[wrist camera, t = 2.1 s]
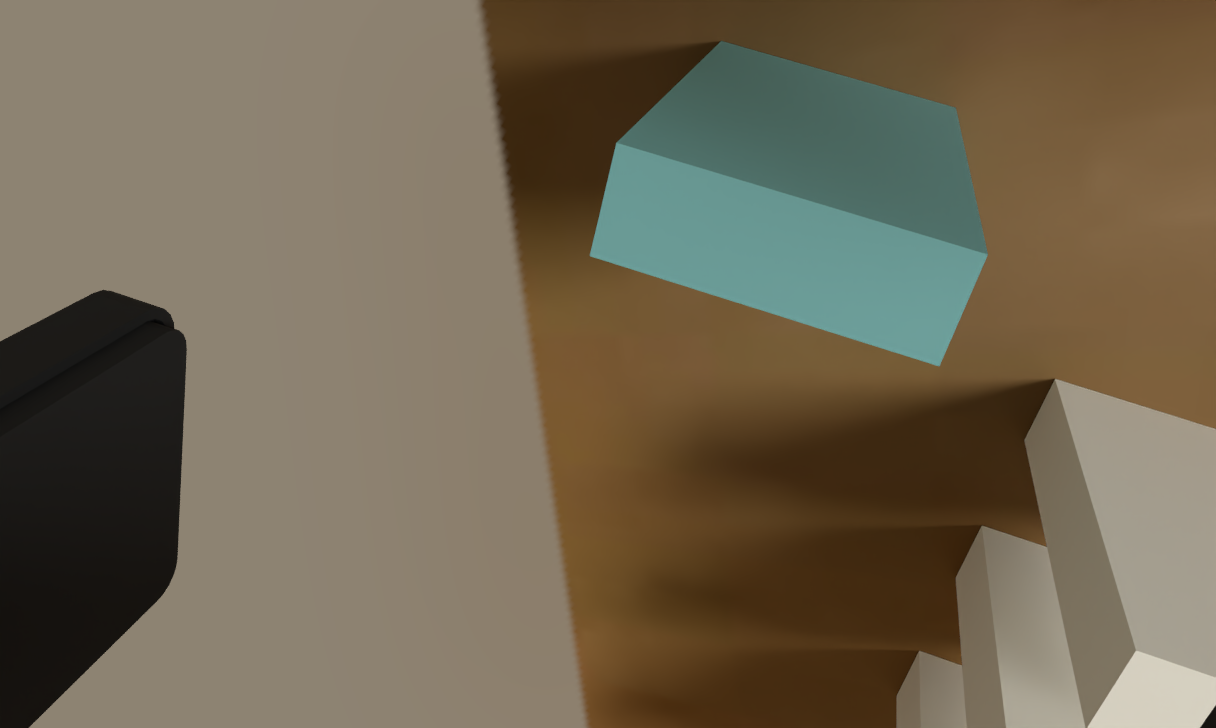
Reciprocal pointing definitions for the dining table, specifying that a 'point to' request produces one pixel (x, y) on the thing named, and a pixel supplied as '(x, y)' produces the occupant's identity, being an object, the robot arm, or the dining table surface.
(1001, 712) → the domino
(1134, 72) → the dining table surface
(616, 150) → the domino
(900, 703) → the domino
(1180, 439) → the domino
